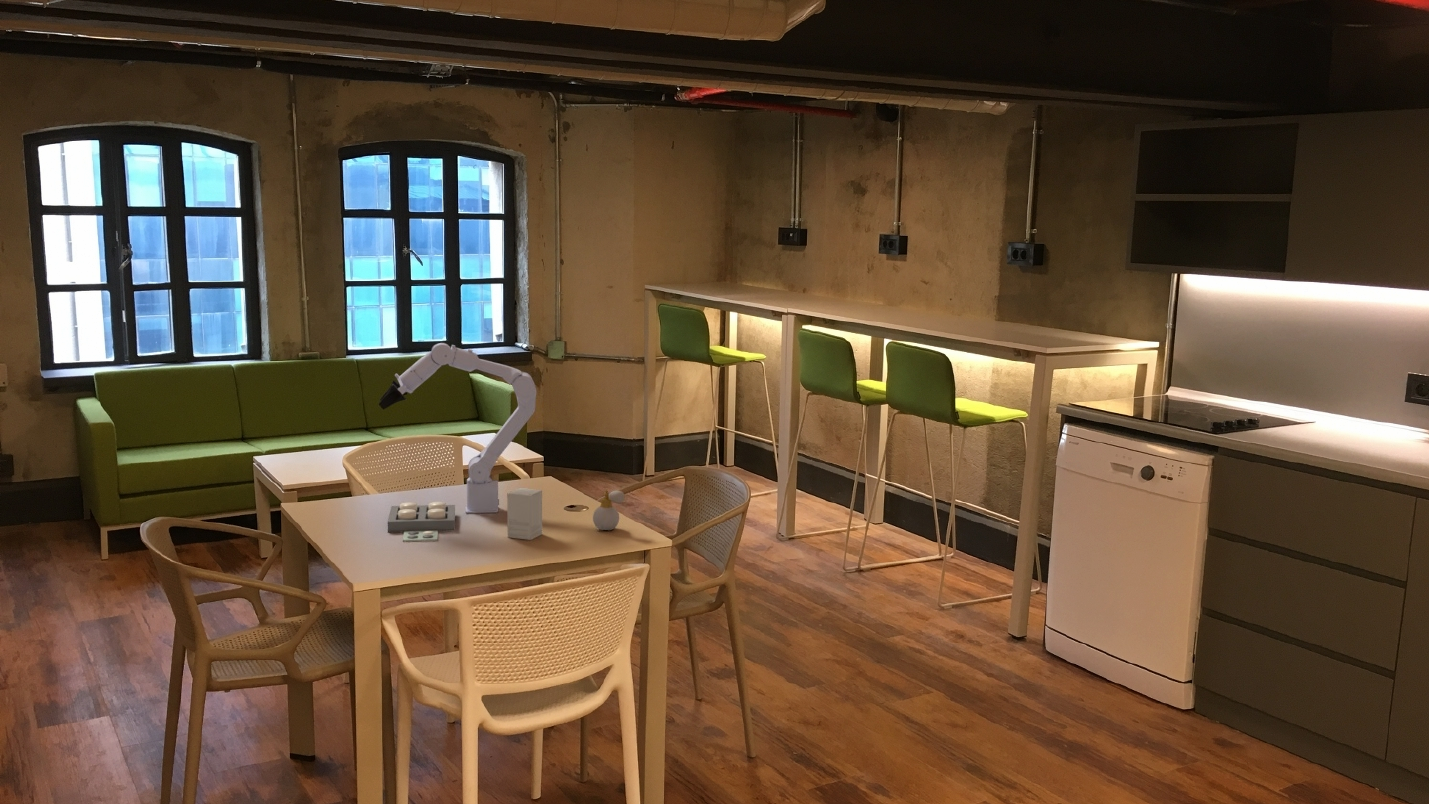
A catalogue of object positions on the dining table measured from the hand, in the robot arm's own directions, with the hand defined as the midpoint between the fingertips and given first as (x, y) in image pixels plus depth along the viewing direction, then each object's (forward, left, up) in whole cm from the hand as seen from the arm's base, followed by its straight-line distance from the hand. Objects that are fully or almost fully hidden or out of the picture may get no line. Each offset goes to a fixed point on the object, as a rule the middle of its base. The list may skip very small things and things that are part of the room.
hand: (381, 404), depth 340 cm
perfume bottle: (-64, +26, -32) cm, 76 cm away
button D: (-16, +10, -30) cm, 35 cm away
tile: (-12, +28, -32) cm, 44 cm away
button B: (-16, +18, -30) cm, 38 cm away
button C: (-8, +10, -30) cm, 33 cm away
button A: (-8, +18, -30) cm, 36 cm away
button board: (-12, +14, -32) cm, 37 cm away
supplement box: (-40, +30, -32) cm, 59 cm away
